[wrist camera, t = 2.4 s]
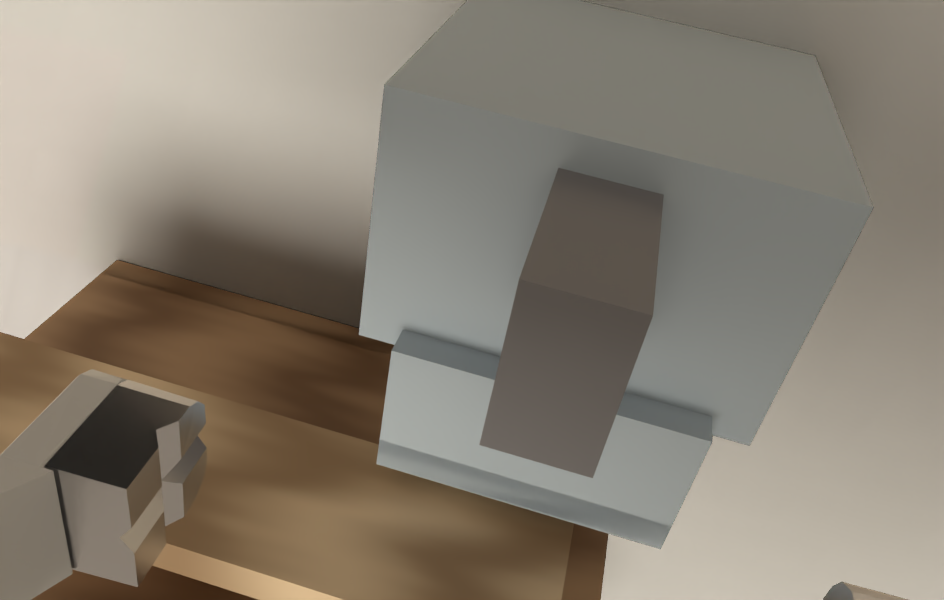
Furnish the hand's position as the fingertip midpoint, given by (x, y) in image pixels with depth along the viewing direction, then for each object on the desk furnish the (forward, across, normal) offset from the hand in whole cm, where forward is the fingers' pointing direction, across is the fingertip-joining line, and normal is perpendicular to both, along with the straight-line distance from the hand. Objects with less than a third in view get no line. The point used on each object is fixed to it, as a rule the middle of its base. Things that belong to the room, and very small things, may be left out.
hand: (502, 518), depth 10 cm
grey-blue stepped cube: (+16, -1, +2) cm, 16 cm away
